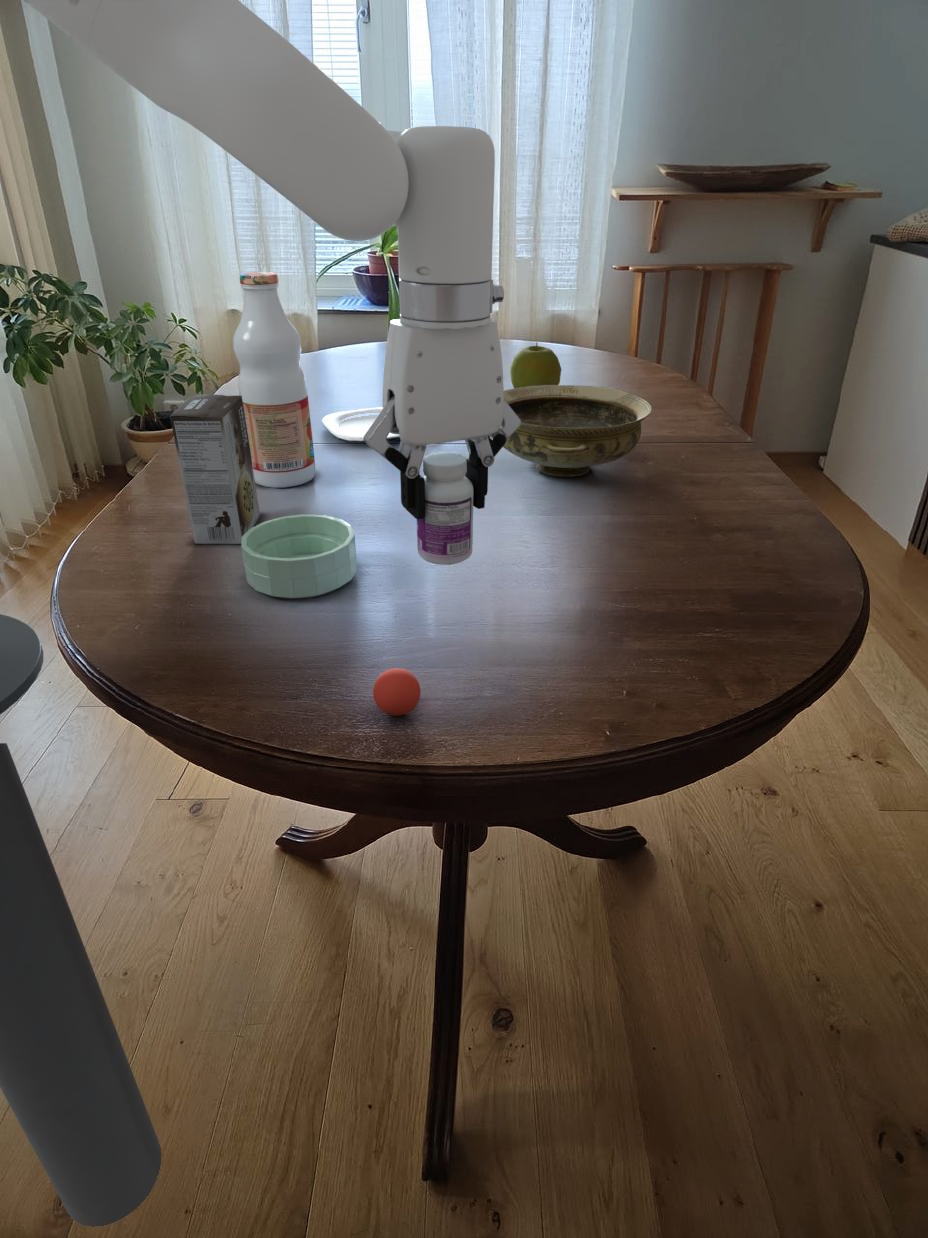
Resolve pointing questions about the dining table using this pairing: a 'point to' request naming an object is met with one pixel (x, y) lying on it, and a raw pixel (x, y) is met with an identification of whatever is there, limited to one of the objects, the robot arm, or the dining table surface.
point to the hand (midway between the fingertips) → (444, 507)
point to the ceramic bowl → (574, 426)
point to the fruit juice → (273, 387)
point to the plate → (353, 425)
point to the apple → (535, 367)
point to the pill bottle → (446, 510)
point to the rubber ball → (396, 691)
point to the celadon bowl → (299, 555)
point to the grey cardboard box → (216, 467)
